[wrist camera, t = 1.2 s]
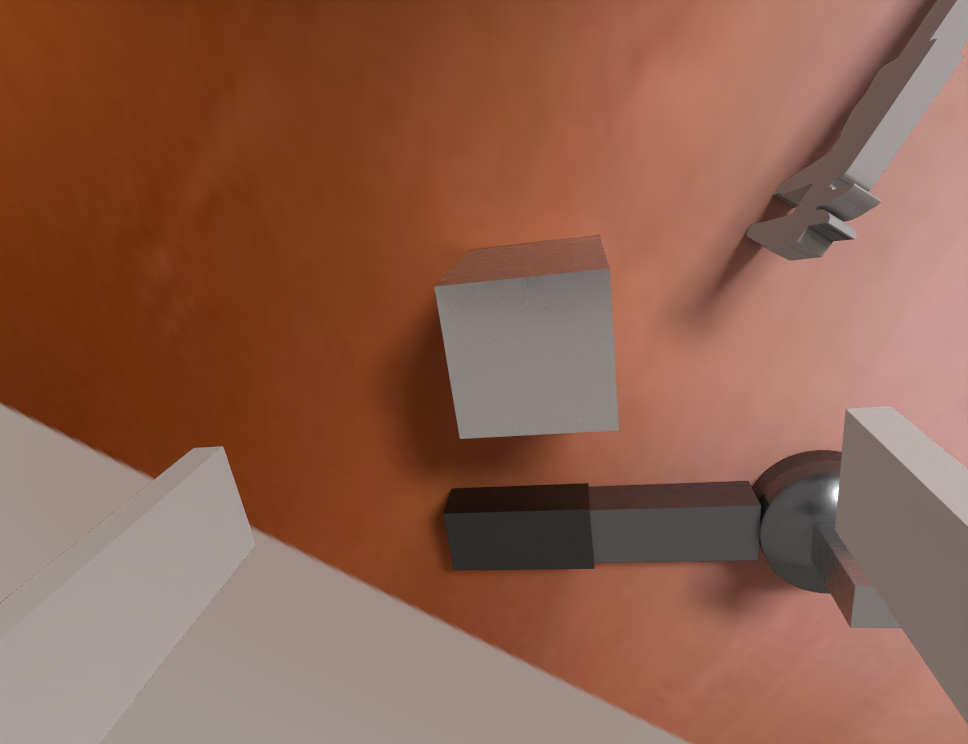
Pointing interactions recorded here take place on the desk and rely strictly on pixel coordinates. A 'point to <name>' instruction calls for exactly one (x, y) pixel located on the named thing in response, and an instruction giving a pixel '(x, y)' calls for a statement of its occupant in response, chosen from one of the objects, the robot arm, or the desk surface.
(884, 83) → the caliper
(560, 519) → the ratchet
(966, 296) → the desk surface
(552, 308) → the plain grey cube
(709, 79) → the desk surface
